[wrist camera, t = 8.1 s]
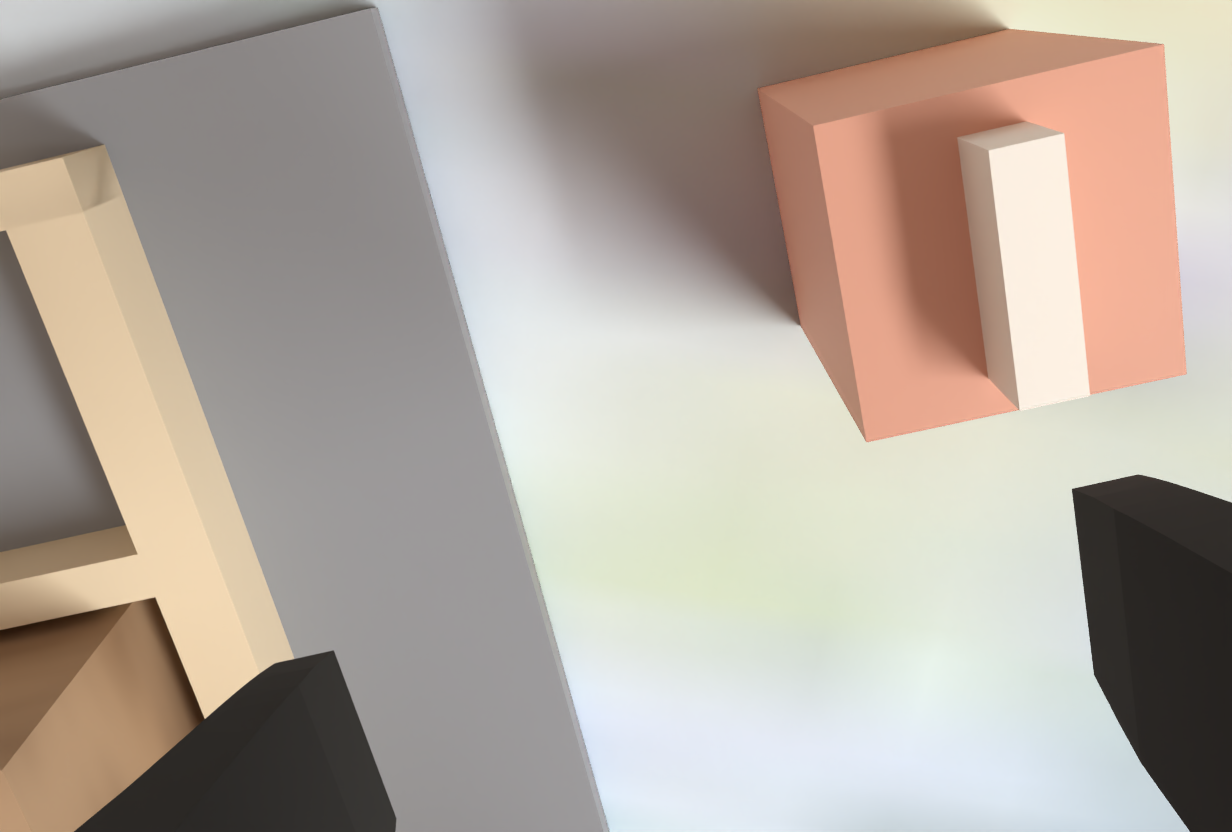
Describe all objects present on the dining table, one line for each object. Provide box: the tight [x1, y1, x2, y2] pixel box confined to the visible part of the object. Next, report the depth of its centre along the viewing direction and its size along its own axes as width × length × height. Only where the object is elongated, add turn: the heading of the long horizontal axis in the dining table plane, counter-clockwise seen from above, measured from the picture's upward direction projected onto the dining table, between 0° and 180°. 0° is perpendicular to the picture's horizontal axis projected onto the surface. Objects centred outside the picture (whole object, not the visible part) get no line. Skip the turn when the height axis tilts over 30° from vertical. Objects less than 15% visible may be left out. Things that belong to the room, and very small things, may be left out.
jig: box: [0, 8, 609, 832], centre depth 21 cm, size 19×17×2 cm
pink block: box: [757, 29, 1186, 442], centre depth 16 cm, size 4×4×7 cm
